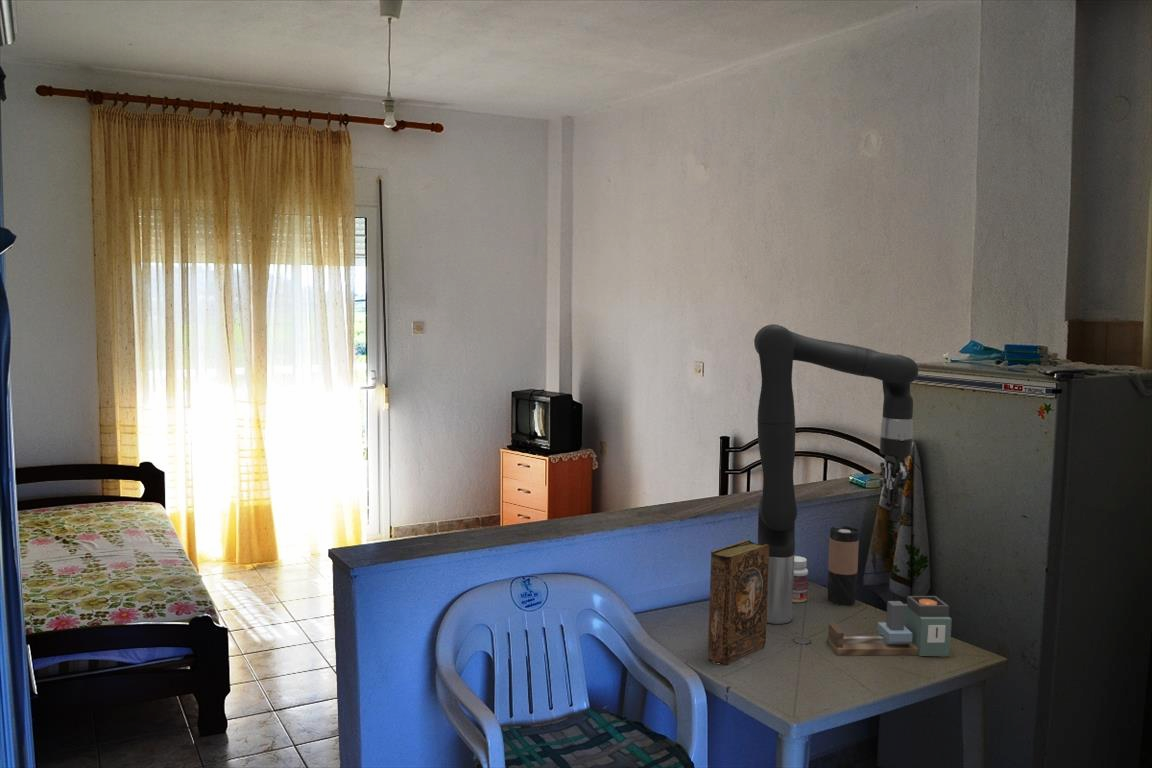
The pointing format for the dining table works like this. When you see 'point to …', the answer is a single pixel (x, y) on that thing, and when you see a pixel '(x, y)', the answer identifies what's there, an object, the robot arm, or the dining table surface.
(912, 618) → the cabinet
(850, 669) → the dining table surface
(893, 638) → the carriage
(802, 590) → the pill bottle
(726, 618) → the book
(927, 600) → the button
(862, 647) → the rail stand
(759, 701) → the dining table surface
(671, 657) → the dining table surface
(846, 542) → the travel mug
